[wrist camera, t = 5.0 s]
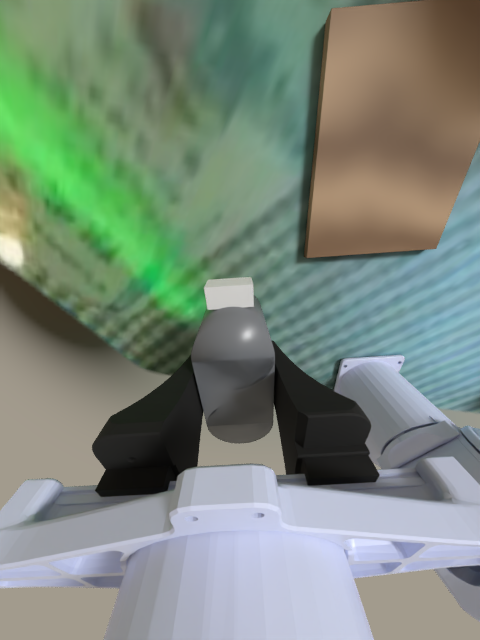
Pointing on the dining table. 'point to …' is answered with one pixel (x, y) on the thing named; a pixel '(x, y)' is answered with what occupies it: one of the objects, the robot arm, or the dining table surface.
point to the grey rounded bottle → (234, 362)
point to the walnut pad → (393, 125)
